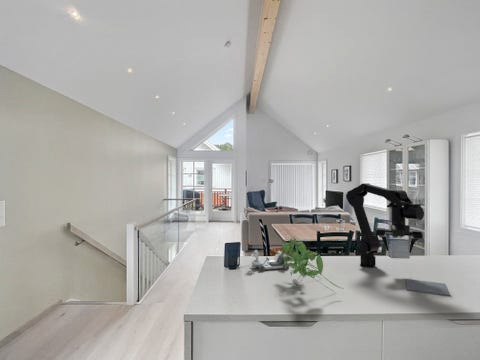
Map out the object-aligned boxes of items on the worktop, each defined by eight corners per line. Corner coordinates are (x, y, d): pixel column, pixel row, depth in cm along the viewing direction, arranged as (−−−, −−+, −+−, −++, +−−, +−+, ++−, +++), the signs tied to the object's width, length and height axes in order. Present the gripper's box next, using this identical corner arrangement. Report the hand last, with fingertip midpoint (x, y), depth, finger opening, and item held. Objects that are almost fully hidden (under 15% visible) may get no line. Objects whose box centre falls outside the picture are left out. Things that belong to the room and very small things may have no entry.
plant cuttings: (304, 288, 141) (266, 259, 140) (326, 258, 142) (288, 230, 141) (332, 323, 106) (281, 285, 105) (360, 283, 107) (310, 245, 106)
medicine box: (405, 256, 141) (405, 237, 141) (410, 259, 136) (409, 239, 136) (387, 256, 142) (387, 237, 142) (391, 258, 137) (391, 239, 137)
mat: (407, 290, 119) (407, 288, 119) (406, 279, 131) (406, 278, 131) (450, 296, 112) (450, 294, 112) (445, 284, 125) (445, 283, 125)
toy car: (253, 252, 144) (247, 247, 155) (253, 272, 144) (247, 266, 155) (289, 249, 148) (280, 245, 160) (289, 270, 148) (280, 264, 159)
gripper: (374, 218, 136) (375, 253, 136) (423, 220, 128) (423, 258, 128) (376, 216, 146) (376, 248, 146) (421, 218, 138) (421, 252, 137)
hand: (398, 252), depth 139 cm, fingers closed on medicine box, 9 cm apart
